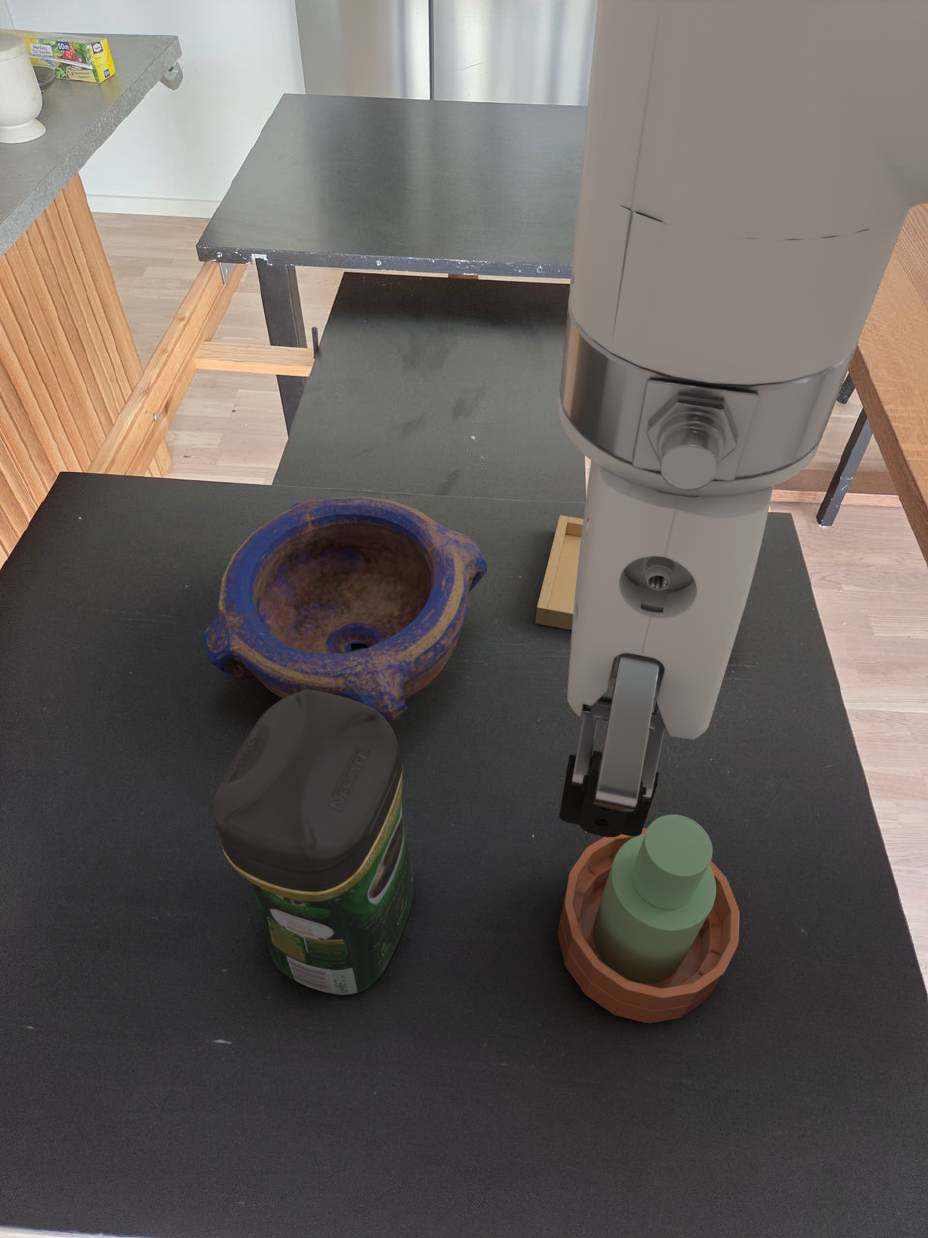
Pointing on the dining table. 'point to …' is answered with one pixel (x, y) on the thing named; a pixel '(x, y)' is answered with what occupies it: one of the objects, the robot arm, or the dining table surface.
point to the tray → (561, 576)
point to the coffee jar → (321, 838)
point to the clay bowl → (610, 987)
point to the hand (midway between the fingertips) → (614, 723)
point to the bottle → (655, 900)
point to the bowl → (345, 601)
